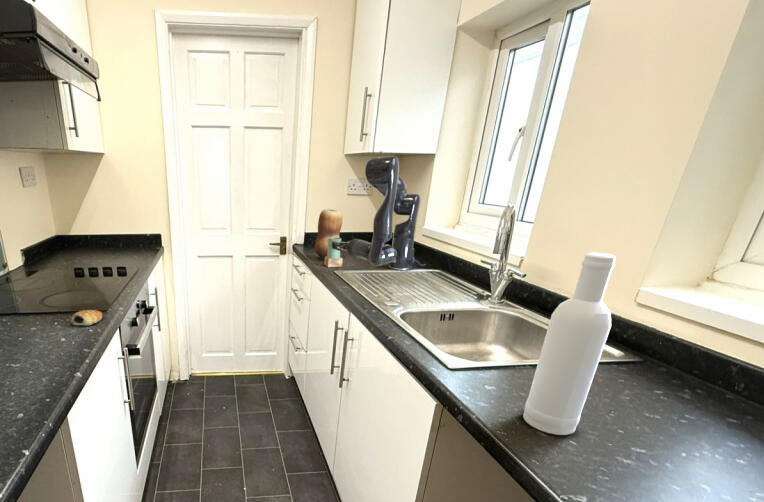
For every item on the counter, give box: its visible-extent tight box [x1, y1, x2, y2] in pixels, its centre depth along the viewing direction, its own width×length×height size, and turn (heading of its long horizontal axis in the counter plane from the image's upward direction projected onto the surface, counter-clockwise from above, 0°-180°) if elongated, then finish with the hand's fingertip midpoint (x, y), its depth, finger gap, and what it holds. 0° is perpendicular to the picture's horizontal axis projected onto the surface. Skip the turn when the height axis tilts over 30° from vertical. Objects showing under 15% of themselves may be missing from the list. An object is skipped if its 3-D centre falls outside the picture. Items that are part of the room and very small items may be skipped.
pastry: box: [70, 309, 103, 327], centre depth 123 cm, size 9×7×4 cm
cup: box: [327, 237, 342, 259], centre depth 196 cm, size 6×6×9 cm
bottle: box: [522, 252, 617, 436], centre depth 68 cm, size 8×8×30 cm
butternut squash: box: [314, 208, 343, 261], centre depth 210 cm, size 14×13×25 cm
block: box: [323, 256, 344, 268], centre depth 199 cm, size 7×6×4 cm
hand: (340, 243), depth 190 cm, fingers open, 8 cm apart
